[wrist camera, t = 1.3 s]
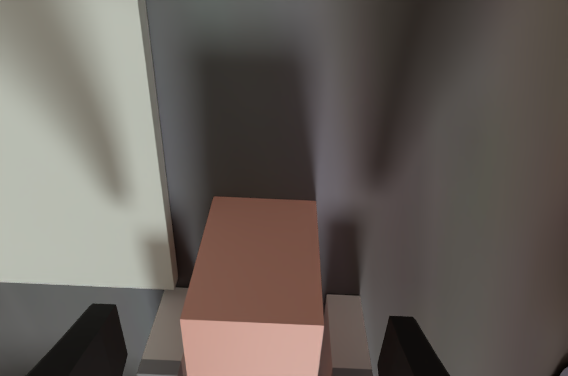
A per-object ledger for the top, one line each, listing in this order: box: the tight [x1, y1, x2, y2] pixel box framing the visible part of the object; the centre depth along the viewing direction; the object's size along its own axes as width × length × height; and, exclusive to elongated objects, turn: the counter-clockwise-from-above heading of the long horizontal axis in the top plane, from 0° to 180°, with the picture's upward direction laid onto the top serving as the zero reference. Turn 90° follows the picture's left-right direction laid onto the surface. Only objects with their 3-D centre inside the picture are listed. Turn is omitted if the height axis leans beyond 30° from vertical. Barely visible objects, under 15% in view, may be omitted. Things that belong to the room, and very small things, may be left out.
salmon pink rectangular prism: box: [180, 196, 324, 376], centre depth 15 cm, size 3×10×5 cm, turn 178°
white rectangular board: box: [0, 0, 178, 290], centre depth 12 cm, size 7×13×1 cm, turn 178°
